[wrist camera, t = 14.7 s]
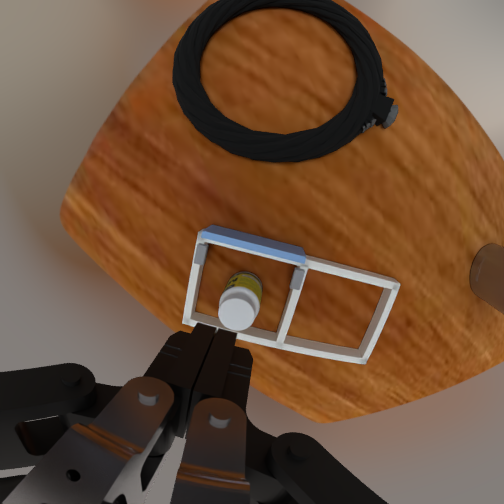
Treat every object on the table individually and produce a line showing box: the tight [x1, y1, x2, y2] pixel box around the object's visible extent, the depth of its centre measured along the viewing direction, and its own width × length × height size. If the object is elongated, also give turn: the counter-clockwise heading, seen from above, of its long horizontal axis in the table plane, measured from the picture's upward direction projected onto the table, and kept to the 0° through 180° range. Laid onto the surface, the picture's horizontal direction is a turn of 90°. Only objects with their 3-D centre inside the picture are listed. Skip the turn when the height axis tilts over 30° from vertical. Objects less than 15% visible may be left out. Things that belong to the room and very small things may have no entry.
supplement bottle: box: [218, 272, 262, 331], centre depth 34 cm, size 5×5×8 cm
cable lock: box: [172, 0, 398, 162], centre depth 29 cm, size 28×4×30 cm
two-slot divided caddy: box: [182, 225, 401, 364], centre depth 35 cm, size 27×14×5 cm, turn 76°
